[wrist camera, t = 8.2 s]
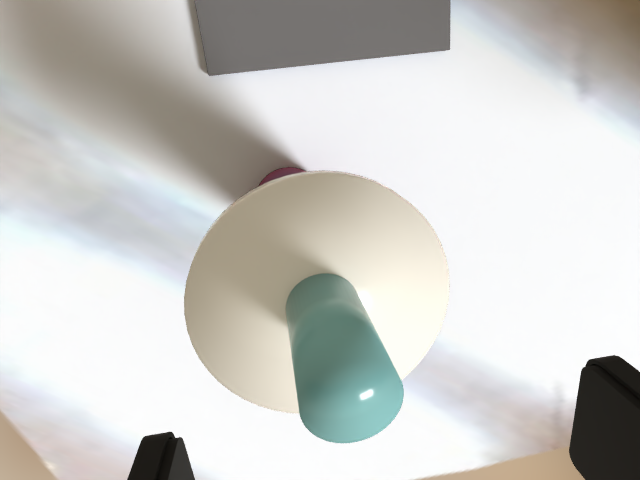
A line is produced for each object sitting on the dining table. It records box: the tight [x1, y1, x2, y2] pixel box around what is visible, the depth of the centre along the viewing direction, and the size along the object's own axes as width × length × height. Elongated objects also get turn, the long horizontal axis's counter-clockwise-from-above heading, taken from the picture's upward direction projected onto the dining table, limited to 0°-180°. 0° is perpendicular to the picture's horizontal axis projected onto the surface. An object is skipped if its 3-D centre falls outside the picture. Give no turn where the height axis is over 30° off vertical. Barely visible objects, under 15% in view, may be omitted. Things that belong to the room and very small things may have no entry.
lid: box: [184, 171, 450, 443], centre depth 13 cm, size 10×10×6 cm
